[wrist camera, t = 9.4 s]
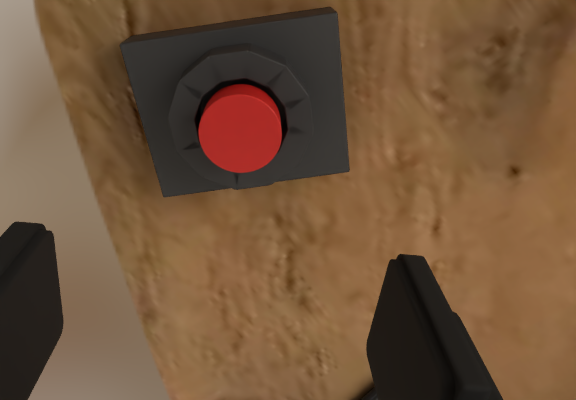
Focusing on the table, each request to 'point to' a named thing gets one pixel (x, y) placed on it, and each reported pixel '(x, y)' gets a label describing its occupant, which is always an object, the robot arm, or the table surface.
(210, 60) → the box
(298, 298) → the table surface
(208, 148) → the button
